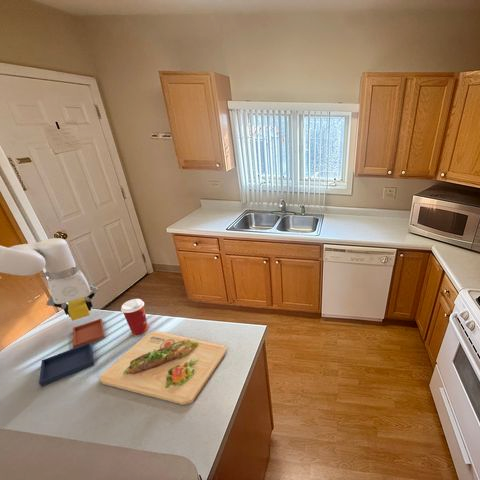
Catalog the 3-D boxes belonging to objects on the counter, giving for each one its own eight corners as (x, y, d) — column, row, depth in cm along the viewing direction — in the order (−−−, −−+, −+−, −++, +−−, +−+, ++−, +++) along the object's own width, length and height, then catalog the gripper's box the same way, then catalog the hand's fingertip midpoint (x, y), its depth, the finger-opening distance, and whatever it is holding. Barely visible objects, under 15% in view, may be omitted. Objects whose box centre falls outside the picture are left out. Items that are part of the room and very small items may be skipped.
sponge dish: (105, 337, 102) (103, 334, 102) (74, 349, 97) (72, 345, 96) (102, 321, 111) (101, 318, 110) (74, 330, 105) (72, 327, 104)
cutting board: (229, 349, 100) (227, 335, 97) (189, 407, 79) (186, 391, 76) (152, 333, 106) (148, 319, 103) (96, 383, 85) (89, 367, 82)
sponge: (89, 315, 98) (85, 305, 96) (72, 320, 95) (67, 311, 93) (88, 304, 103) (85, 295, 102) (72, 309, 100) (68, 300, 98)
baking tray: (41, 387, 83) (38, 382, 82) (44, 364, 90) (41, 360, 89) (94, 365, 91) (92, 361, 90) (92, 346, 98) (90, 342, 97)
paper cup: (154, 329, 108) (147, 302, 102) (134, 340, 102) (125, 312, 96) (145, 321, 112) (137, 295, 106) (125, 332, 106) (116, 305, 100)
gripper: (27, 284, 84) (49, 326, 91) (94, 268, 94) (108, 307, 102) (30, 274, 89) (50, 315, 96) (93, 260, 99) (107, 298, 107)
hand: (80, 311), depth 99 cm, fingers closed on sponge, 5 cm apart
